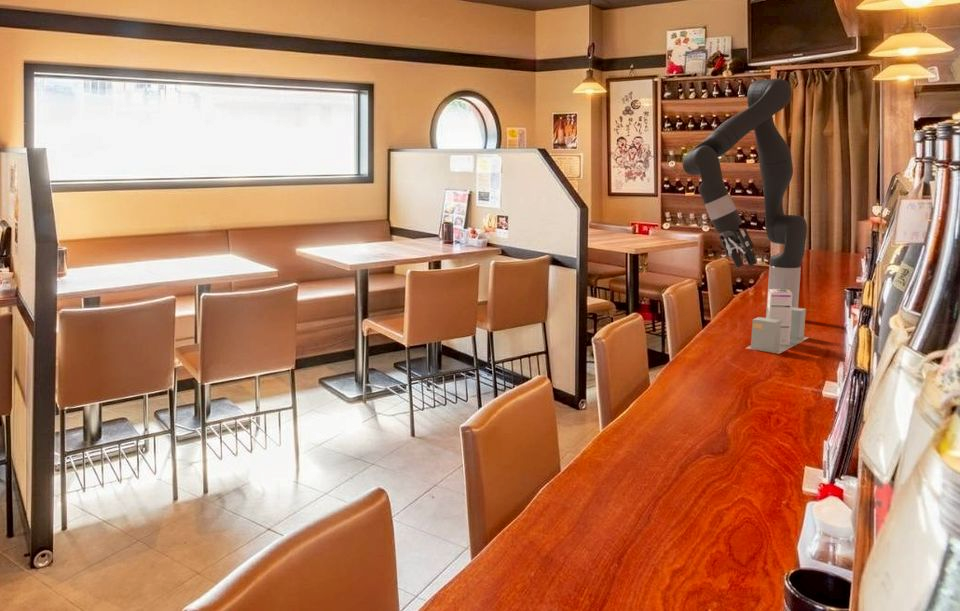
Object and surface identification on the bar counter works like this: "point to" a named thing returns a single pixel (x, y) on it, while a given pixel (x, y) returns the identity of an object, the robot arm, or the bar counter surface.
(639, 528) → the bar counter surface
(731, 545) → the bar counter surface
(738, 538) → the bar counter surface
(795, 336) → the block
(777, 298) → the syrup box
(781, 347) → the grey flat base plate
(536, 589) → the bar counter surface
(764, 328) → the block
